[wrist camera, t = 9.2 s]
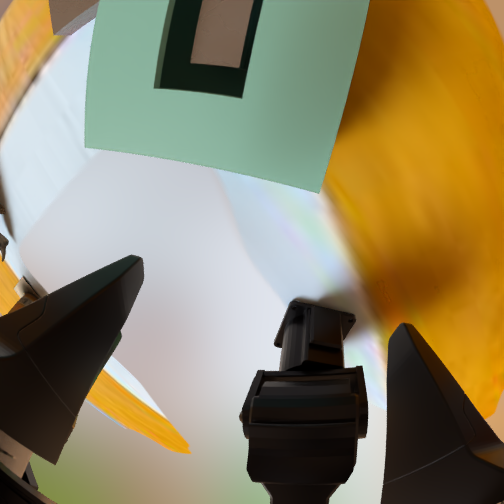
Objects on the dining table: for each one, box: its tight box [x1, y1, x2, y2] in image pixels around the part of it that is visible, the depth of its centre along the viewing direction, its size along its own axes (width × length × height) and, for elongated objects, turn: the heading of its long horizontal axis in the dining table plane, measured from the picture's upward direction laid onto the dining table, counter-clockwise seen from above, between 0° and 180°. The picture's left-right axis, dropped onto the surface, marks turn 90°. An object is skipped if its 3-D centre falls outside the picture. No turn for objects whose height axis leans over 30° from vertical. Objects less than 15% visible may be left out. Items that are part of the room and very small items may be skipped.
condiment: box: [9, 277, 40, 313], centre depth 31 cm, size 7×8×12 cm
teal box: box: [85, 0, 370, 194], centre depth 11 cm, size 14×12×7 cm
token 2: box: [190, 0, 263, 71], centre depth 12 cm, size 5×2×5 cm, turn 170°
